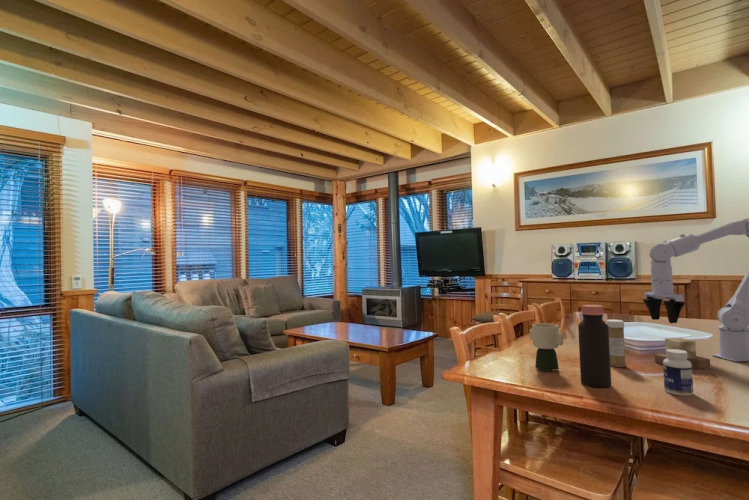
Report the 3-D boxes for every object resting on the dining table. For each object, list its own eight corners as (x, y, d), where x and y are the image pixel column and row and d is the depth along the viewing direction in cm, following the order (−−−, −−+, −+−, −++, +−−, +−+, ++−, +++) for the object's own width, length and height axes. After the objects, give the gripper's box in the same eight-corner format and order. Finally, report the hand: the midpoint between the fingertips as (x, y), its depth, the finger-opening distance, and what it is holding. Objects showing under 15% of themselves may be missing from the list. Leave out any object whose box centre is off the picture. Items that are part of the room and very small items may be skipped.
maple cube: (682, 354, 117) (681, 337, 117) (696, 358, 112) (695, 341, 112) (665, 355, 116) (664, 338, 117) (679, 359, 111) (678, 341, 112)
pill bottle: (658, 389, 94) (656, 348, 94) (679, 388, 95) (677, 347, 95) (677, 397, 89) (675, 354, 89) (699, 395, 89) (697, 352, 89)
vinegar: (614, 383, 99) (610, 305, 100) (606, 390, 94) (602, 307, 95) (585, 378, 104) (582, 303, 105) (577, 384, 99) (573, 306, 100)
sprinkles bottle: (611, 362, 119) (609, 318, 119) (628, 365, 115) (626, 320, 116) (605, 365, 116) (603, 320, 116) (622, 368, 112) (620, 321, 113)
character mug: (572, 372, 110) (570, 326, 111) (556, 376, 107) (553, 328, 107) (539, 364, 120) (537, 321, 120) (523, 367, 116) (521, 324, 117)
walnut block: (680, 362, 119) (679, 352, 119) (710, 369, 110) (709, 359, 111) (655, 364, 118) (654, 354, 118) (684, 372, 109) (683, 361, 109)
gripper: (635, 279, 137) (637, 318, 137) (666, 281, 123) (669, 324, 122) (654, 279, 137) (656, 317, 137) (688, 281, 123) (691, 324, 122)
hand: (664, 321), depth 130 cm, fingers open, 7 cm apart
